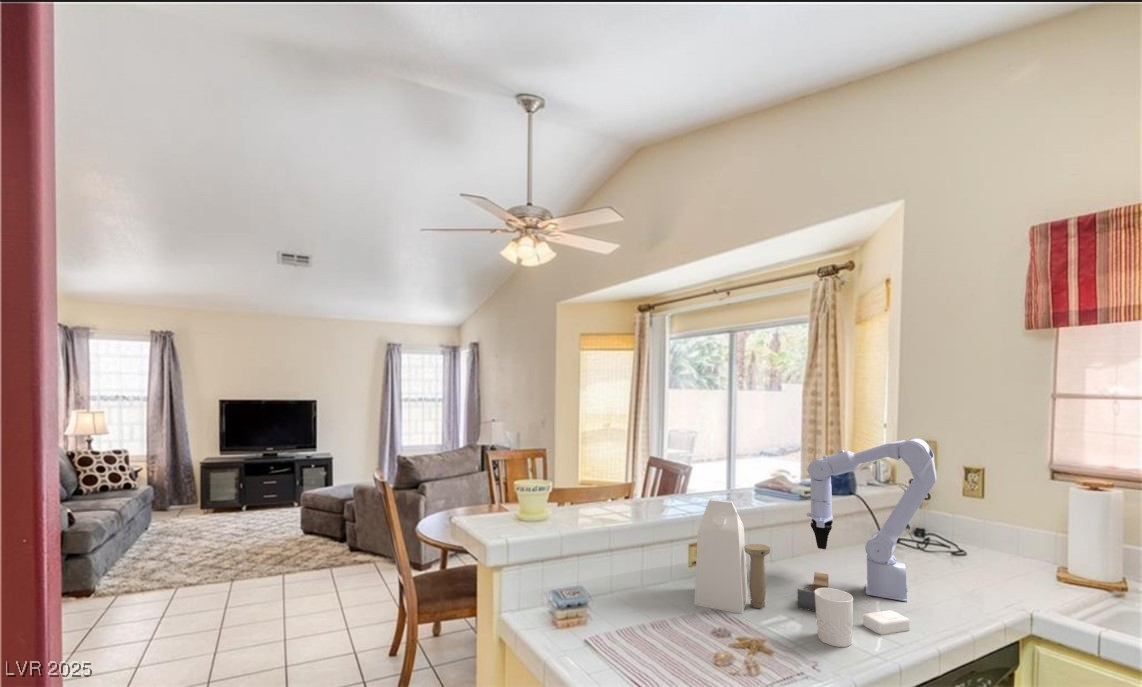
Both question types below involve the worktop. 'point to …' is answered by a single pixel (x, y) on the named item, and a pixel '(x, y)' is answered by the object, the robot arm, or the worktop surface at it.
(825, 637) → the white cup
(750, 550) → the handle
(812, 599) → the bracket
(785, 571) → the worktop surface
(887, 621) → the soap
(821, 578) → the tan rectangular block
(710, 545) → the milk
